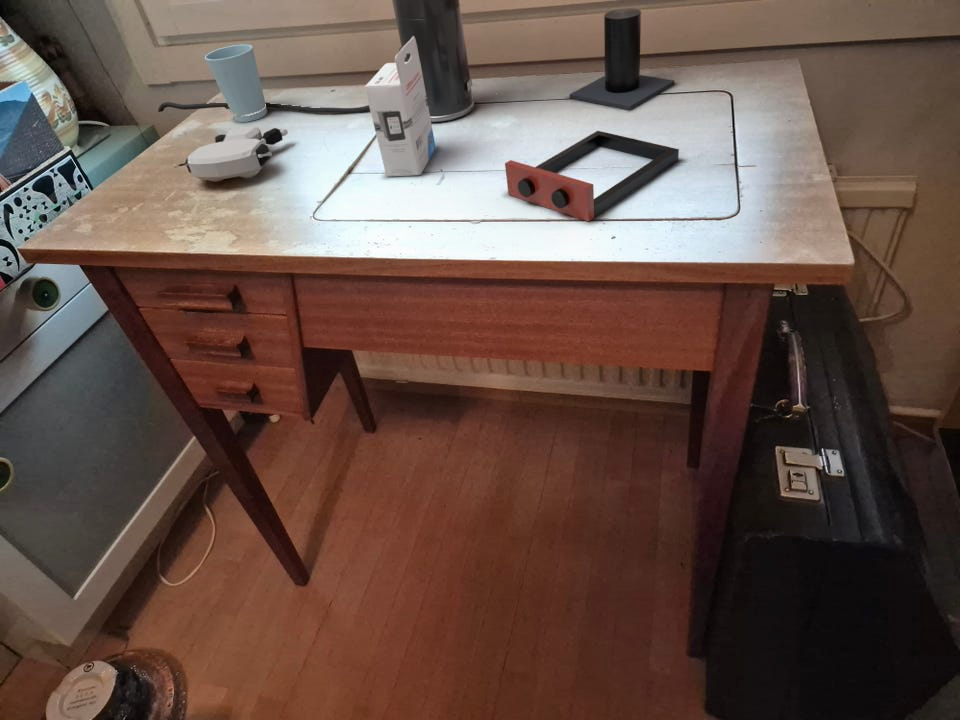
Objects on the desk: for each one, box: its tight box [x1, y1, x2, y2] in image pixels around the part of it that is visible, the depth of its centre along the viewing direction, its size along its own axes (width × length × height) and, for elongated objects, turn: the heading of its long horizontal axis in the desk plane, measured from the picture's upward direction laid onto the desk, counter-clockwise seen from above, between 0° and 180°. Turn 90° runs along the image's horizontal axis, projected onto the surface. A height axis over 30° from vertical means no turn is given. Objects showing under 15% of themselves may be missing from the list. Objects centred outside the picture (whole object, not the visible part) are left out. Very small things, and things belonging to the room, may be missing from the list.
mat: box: [568, 74, 676, 111], centre depth 98 cm, size 11×11×1 cm
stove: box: [504, 130, 680, 223], centre depth 77 cm, size 12×18×4 cm
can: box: [603, 8, 642, 93], centre depth 94 cm, size 5×5×10 cm
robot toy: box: [173, 125, 289, 182], centre depth 94 cm, size 12×4×15 cm
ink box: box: [364, 36, 437, 177], centre depth 84 cm, size 9×5×15 cm, turn 168°
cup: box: [204, 43, 268, 123], centre depth 109 cm, size 8×8×10 cm
